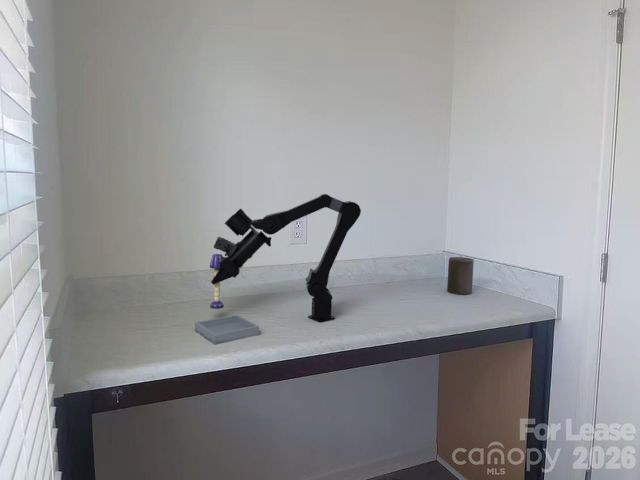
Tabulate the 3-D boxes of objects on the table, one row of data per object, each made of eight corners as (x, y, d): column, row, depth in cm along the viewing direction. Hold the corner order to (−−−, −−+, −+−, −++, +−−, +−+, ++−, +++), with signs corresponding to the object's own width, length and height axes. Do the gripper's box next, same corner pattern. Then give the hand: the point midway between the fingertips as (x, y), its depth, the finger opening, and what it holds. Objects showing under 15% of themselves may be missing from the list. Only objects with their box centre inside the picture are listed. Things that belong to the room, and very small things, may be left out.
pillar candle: (450, 294, 181) (452, 257, 179) (444, 288, 191) (446, 253, 189) (475, 295, 181) (477, 257, 179) (468, 289, 190) (470, 253, 188)
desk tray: (259, 334, 131) (259, 326, 131) (214, 344, 123) (214, 335, 122) (237, 322, 142) (237, 314, 141) (194, 330, 134) (194, 322, 133)
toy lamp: (219, 304, 147) (218, 252, 144) (228, 306, 144) (227, 254, 141) (207, 307, 143) (205, 254, 141) (216, 310, 140) (215, 256, 138)
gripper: (231, 225, 150) (198, 258, 150) (226, 231, 131) (188, 270, 132) (256, 248, 152) (223, 281, 152) (254, 258, 133) (216, 296, 133)
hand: (213, 281), depth 142 cm, fingers closed on toy lamp, 4 cm apart
